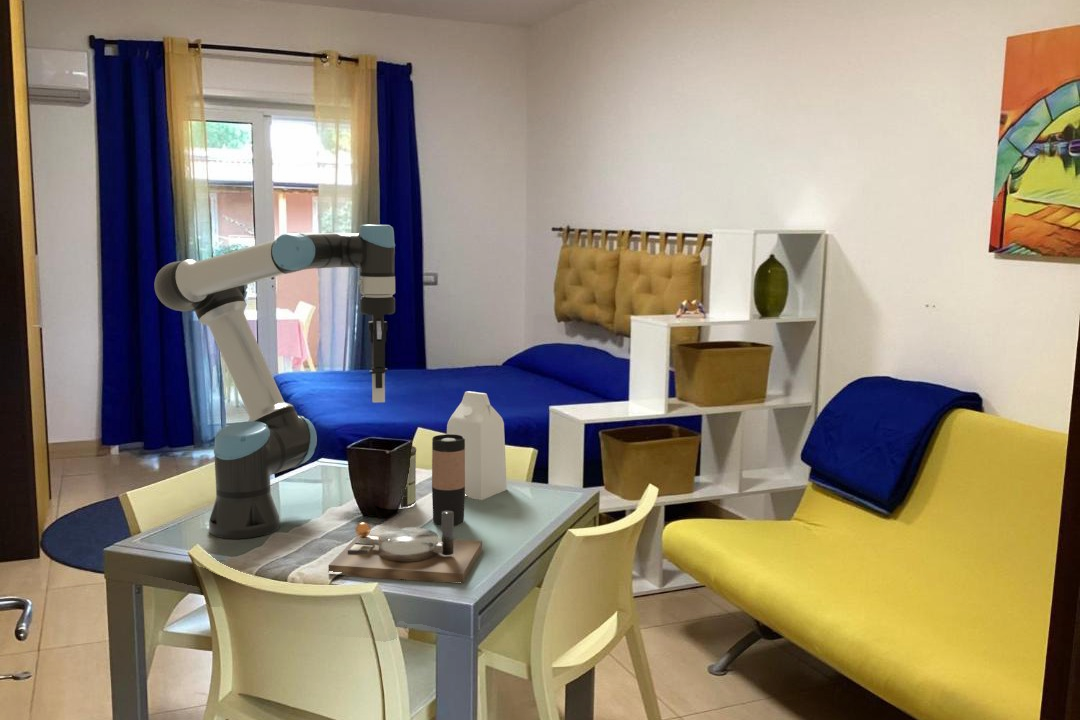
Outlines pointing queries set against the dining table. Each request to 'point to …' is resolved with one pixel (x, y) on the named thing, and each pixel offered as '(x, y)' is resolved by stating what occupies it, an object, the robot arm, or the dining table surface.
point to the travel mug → (448, 477)
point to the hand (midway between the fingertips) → (378, 401)
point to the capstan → (411, 541)
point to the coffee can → (410, 482)
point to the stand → (407, 563)
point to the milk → (480, 445)
